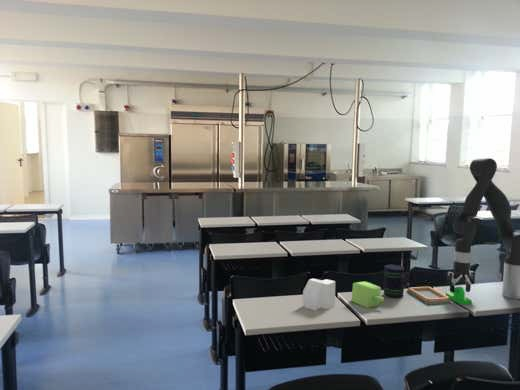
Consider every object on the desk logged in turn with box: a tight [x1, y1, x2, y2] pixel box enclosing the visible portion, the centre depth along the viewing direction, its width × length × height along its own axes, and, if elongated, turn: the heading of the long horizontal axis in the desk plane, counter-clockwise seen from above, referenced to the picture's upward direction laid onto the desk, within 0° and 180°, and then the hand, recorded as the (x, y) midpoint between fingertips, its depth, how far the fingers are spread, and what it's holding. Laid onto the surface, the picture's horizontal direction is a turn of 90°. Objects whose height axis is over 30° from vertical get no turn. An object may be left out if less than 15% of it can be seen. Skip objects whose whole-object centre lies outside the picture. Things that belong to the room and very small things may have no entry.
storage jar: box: [383, 264, 405, 299], centre depth 215 cm, size 10×10×15 cm
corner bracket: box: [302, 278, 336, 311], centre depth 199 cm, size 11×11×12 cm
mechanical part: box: [445, 286, 473, 305], centre depth 209 cm, size 12×6×8 cm, turn 9°
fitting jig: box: [406, 285, 452, 306], centre depth 213 cm, size 12×20×2 cm, turn 11°
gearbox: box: [351, 281, 385, 309], centre depth 203 cm, size 18×10×10 cm, turn 31°
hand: (459, 292), depth 210 cm, fingers open, 8 cm apart
